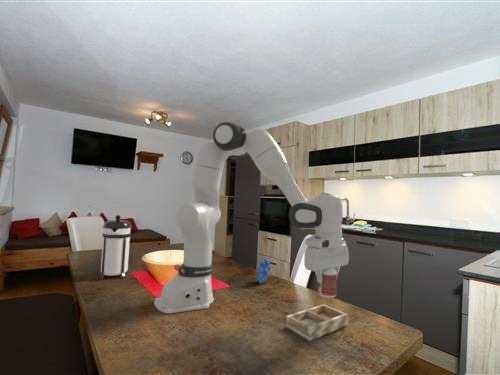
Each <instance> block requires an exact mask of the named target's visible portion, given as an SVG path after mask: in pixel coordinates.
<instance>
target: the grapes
mask: <svg viewBox="0 0 500 375" xmlns="http://www.w3.org/2000/svg"><path fill="white" fill-rule="evenodd" d="M258 263H259V266H257V267H256V272H257V275H256V279H257V281H258V283H259V284H263V283H264V284H265V283H266V282H267V280H268V278H269V276H270V272H269V271H271V270H272V268H271V265H270V264H271V261H270V260H269V259H268V258H267V257H264V258H263V259H262V260H261V261H260V262H258Z"/></svg>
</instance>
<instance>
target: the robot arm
mask: <svg viewBox="0 0 500 375" xmlns="http://www.w3.org/2000/svg"><path fill="white" fill-rule="evenodd" d="M212 138H213V140H210V139H209V140H207V141H204V142H203V143H201V145H200V147H199V148H200V149H199V151H198V154H197V157H196V160H195V166H194V171H193V174H192V175H193V176H192V181H191V187H192V188H193V194H194V201H188V202H186V203H184V204H181V205H180V206H179V207H178V208H177V209H176V212H175V221H176V224H177V226H178V227H179V228H180V230H181V234H182V239H183V259H182V260H183V263H182V264H181V265H179V264H175V265H174V266H173V269H174V270H175V271H177V274H176V275H175V276H174V277H173V278H171V279H170V280H169V281H168V282H167V283H165V284H164V285H163V287H162V290H161V293H160V296H159V297H156V298H155V299H154V302H153V305H154V307H155V308H156V309H157V310H158V311H159V312H161V313H163V314H176V313H183V312H189V311H196V310H205V309H209V307H210V305H211V304H212V303H213V302H214V301H215V299H214V294H213V287H212V276H213V263H212V259H213V257H212V256H213V242H212V241H211V240H210V234H209V228H211V227H213V226H215V225H216V224H217V223H218V222H219V221H220V219H221V216H222V215H221V214H222V213H221V209H220V187H221V181H222V175H223V171H224V167H225V166H224V165H225V161H226V160H227V158H229V159H233V158H239V157H240V158H241V157H245V156H246V155H249V156H250V158H251V159H252V161H253V163H254V164H255V166H256V167H257V169H258V170H259V172H261V174H262V176H264V177H265V178H266V179H268V180H269V181H271V182H272V183H273V184H275V185H276V186H277V187H278V188H279V189H280V190H281V192H282V193H283V195H284V196H285V198H286V200H287V201H288V204H290V206H291V207H290V208H289V212H288V218H289V221H290V223H291V224H292V226H294V227H296V229H300V230H307V229H311V228H314V229H315V233H314V234H313V235H310V236H309V237H308V238H305V240H304V244H305V250H304V263H303V264H304V267H305V269H306V270H308V271H310V272H314V273H315V277H316V282H317V284H318V283H323V282H324V277H322V274H321V273H322V270H323V269H328V268H329V267H330V264H332V263H335V267H334V269H335V270H336V271H337V279H338V275H339V272H340V270H341V267H343V266H347V265H349V261H350V260H349V259H350V257H349V255H350V254H349V247H348V245H347V241H346V240H345V239H344V238H343V228H342V223H343V201H342V199H341V198H340V197H339V196H338V195H336V194H332V193H327V192H320V193H318V194H316V195H315V196H313V197H311V198H309V199H307V197H305V195H304V194H303V192H302V190H301V189H300V187H299V186H298V185H297V183H296V181H295V179H294V177H293V175H292V172H291V168H290V167H289V164H288V162H287V159H286V156H285V155H284V153H283V151H282V149H281V147H280V146H279V144H278V143H277V141H276V140H275V139H274V137H272V135H271V134H270V133H269V131H267V130H266V129H265V128H262V127H258V128H254V129H252V130H251V131H246V129H245V128H243V127H241V126H240V125H237V124H236V123H234V122H233V123H232V122H229V121H223V122H221V123H219V124H217V126H216V127H215V128H214V130H213V132H212Z"/></svg>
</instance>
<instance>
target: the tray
mask: <svg viewBox="0 0 500 375" xmlns="http://www.w3.org/2000/svg"><path fill="white" fill-rule="evenodd" d="M348 322H349V314H348V313H345V312H343V311H341V310H339V309H337V308H334V307H331V306H329V305H327V304H319V305H317V306H314V307H310V308H307V309H304V310H300V311H298V312H295V313H294V312H293V313H291V314H288V315H286V322H285V326H286V328H287V329H289V330H291V331H293V332H294V333H296V334H298V335H299V336H300V337H303V338H304V339H306V340H308V341H309V342H311V341H313V340H316V339H318V338H320V337H323V336H325V335H327V334H330V333H332V332H334V331H337V330H339V329H342V328H344V327H346V326H348V324H349V323H348Z"/></svg>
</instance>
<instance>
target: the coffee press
mask: <svg viewBox="0 0 500 375" xmlns="http://www.w3.org/2000/svg"><path fill="white" fill-rule="evenodd" d="M102 228H103V232H102V247H101V248H102V249H101V260H100V275H99V276H98V279H99V280H103V279H104V278H106V276H108V277H109V276H110V277H111V276H113V277H114V276H115V277H116V276H119V277H120V279H125V278H126V274H127V273H129V270H128V269H129V255H130V241H131V235H132V234H131V228H132V224H131V223H130V222H129V221H128V220H123V219H121V215H119V214H117V215H116V216H115V219H113V220H111V219H110V220H107V221H105V222H104V224H103V225H102Z"/></svg>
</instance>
